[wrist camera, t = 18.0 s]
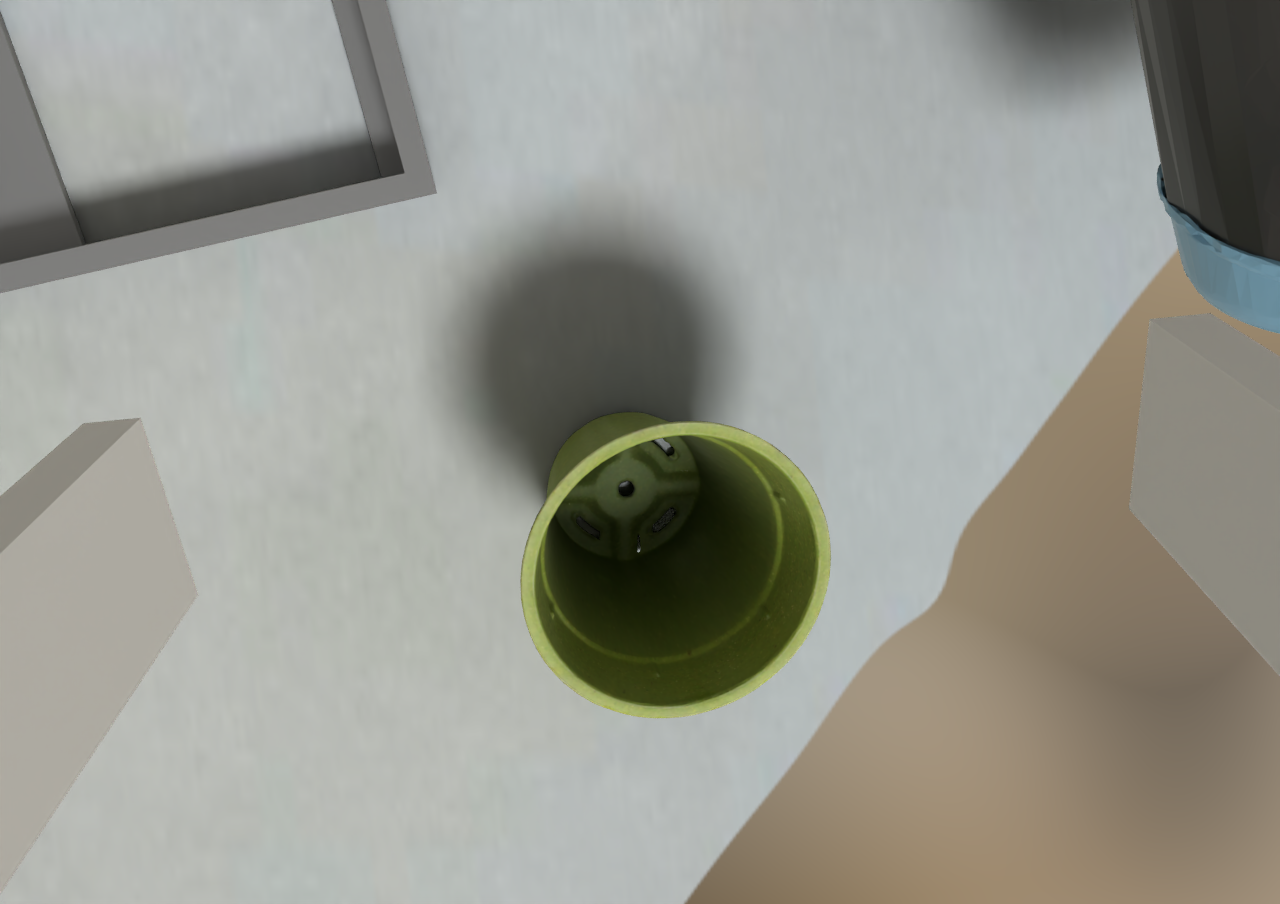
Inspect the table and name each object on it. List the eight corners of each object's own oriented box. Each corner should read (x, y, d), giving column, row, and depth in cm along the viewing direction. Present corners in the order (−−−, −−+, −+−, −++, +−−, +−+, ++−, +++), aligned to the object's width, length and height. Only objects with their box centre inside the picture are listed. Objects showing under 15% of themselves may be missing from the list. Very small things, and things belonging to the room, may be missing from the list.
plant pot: (471, 580, 50) (486, 696, 39) (534, 335, 47) (568, 388, 37) (706, 623, 53) (779, 741, 42) (776, 395, 50) (872, 460, 40)
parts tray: (322, -238, 40) (313, -273, 37) (435, 190, 45) (437, 193, 42) (-431, -107, 37) (-515, -133, 33) (-221, 340, 42) (-276, 356, 38)
